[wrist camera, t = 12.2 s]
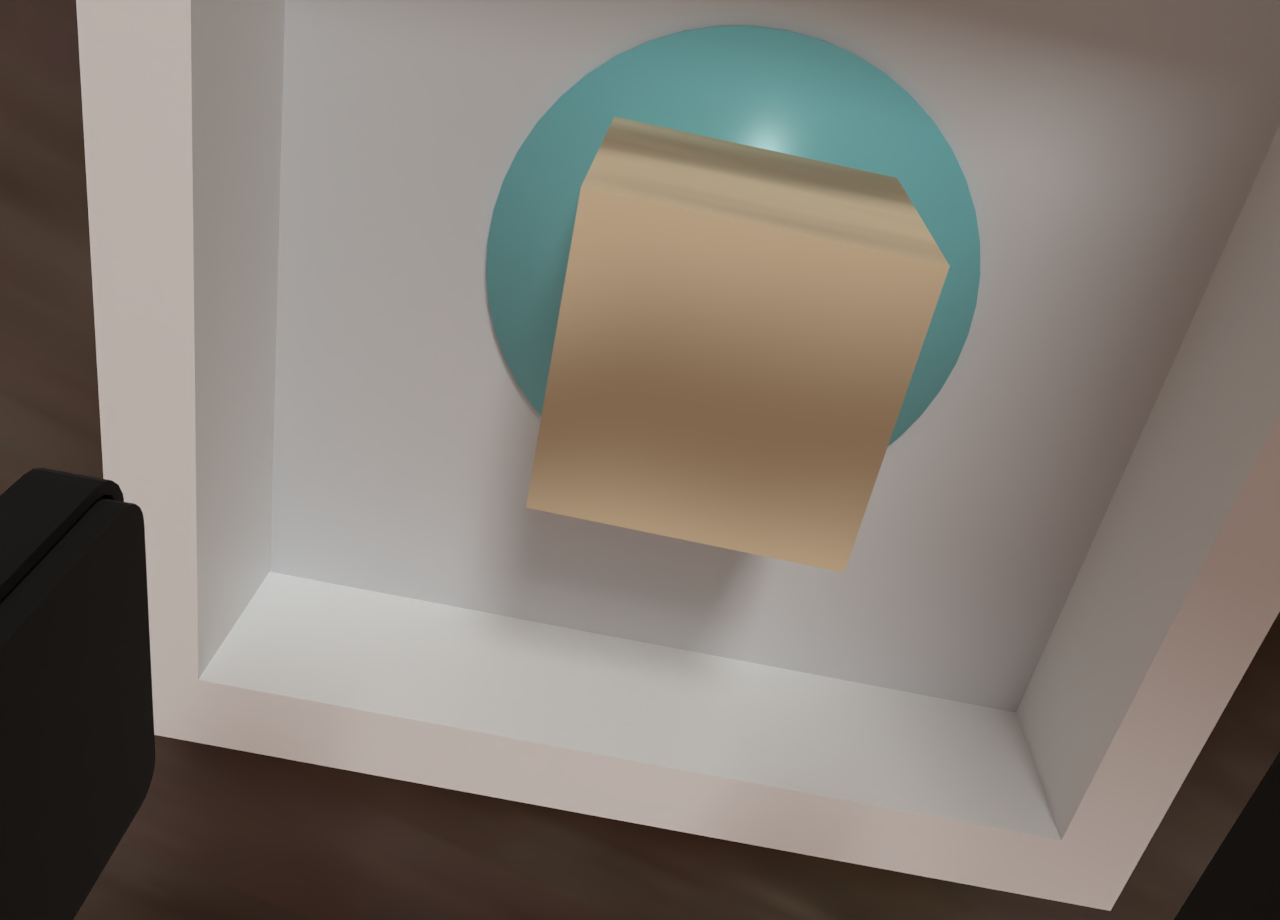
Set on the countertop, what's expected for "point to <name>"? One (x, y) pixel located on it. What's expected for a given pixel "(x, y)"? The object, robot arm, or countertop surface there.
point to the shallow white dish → (669, 567)
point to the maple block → (732, 344)
